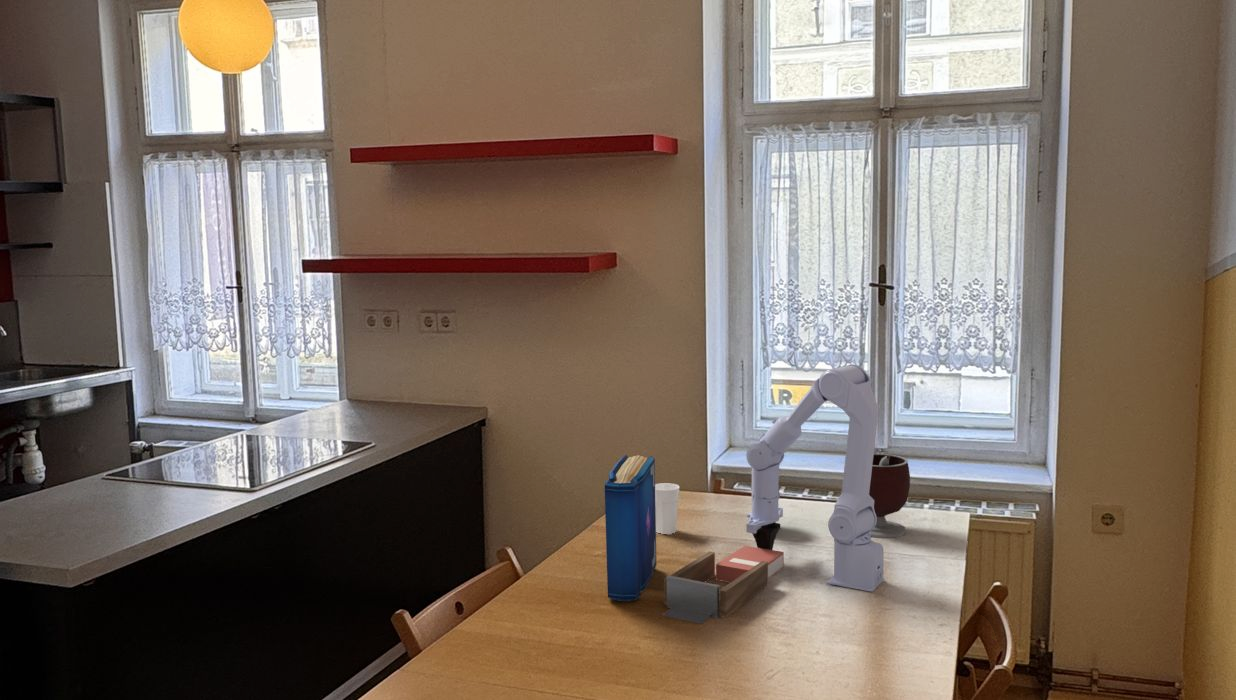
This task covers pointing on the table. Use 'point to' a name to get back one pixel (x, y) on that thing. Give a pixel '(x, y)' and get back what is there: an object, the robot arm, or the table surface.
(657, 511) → the cup
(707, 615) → the bookend
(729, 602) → the brown wooden drawer
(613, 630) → the table surface
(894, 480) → the mate gourd
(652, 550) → the book
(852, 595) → the table surface
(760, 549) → the boxed book
